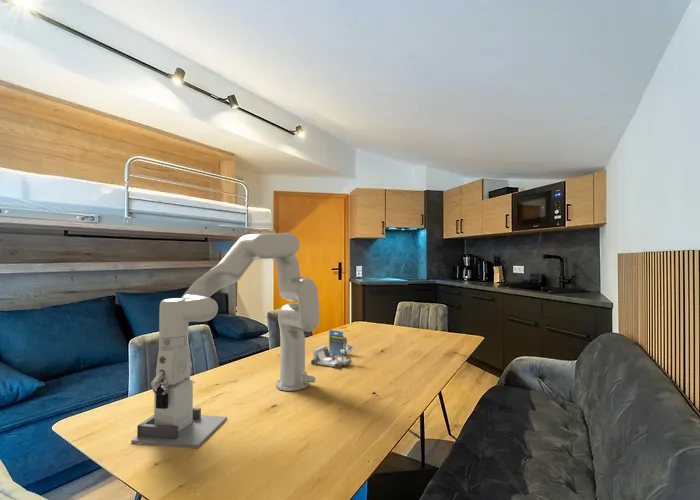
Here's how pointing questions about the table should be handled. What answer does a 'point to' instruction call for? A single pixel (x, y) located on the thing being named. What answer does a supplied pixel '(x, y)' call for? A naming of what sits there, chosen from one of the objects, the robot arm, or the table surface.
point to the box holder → (186, 437)
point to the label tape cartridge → (337, 342)
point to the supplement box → (176, 406)
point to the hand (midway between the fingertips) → (173, 400)
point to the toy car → (330, 357)
